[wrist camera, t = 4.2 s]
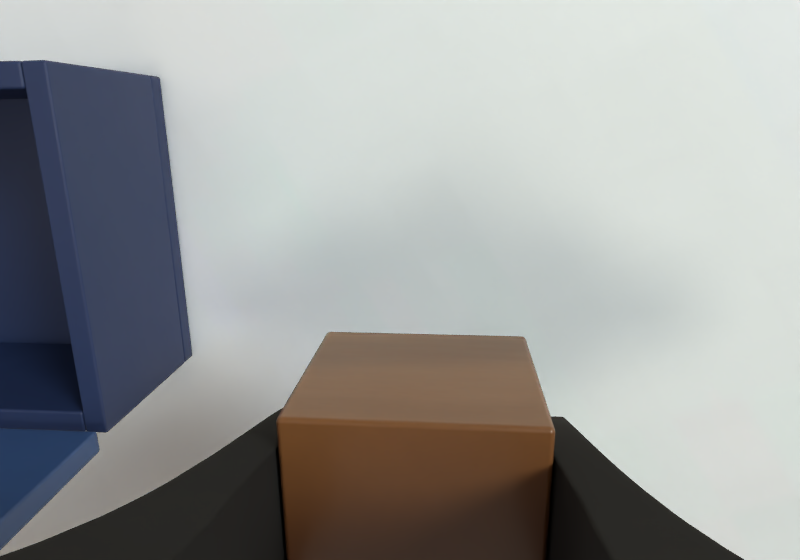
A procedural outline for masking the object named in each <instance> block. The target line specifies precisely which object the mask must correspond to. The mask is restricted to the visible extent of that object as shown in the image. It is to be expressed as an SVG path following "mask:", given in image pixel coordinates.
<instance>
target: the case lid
mask: <svg viewBox="0 0 800 560" xmlns="http://www.w3.org/2000/svg"><path fill="white" fill-rule="evenodd" d="M98 452H99V444H98V439H97V434H96V432H89V431H62V430H35V429H8V428H0V550H1V549H2V548H3V547H4V546H5V545H6V544H7V543H8V542H9V541H10V540H11V539H12V538H13V537H14V536H15V535H16V534H17V533H18V532H19V531H20V530H21V529H22V528H23V527H24V526H25V525H26V524H27V523H28V522H29V521H30V520H31V519H32V518H33V517H34V516H35V515H36V514H37V513H38V512H39V511H40V510H41V509H42V508H43V507H44V506H45V505H46V504H47V503H48V502H49V501H50V500H51V499H52V498H53V497H54V496H55V495H56V494H57V493H58V492H59V491H60V490H61V489H62V488H63V487H64V486H65V485H66V484H67V483H68V482H69V481H70V480H71V479H72V478H73V477H74V476H75V475H76V474H77V473H78V472H79V471H80V470H81V469H82V468H83V467H84V466H85V465H86V464H87V463H88V462H89V461H90V460H91V459H92V458H93V457H94V456H95V455H96V454H97V453H98Z"/></svg>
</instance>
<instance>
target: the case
mask: <svg viewBox="0 0 800 560" xmlns="http://www.w3.org/2000/svg"><path fill="white" fill-rule="evenodd" d="M191 356H192V350H191V341H190V333H189V324H188V316H187V307H186V299H185V290H184V282H183V273H182V265H181V256H180V248H179V239H178V231H177V222H176V214H175V205H174V197H173V188H172V179H171V171H170V162H169V154H168V145H167V137H166V128H165V120H164V111H163V103H162V94H161V86H160V79H159V77H155V76H148V75H142V74H135V73H128V72H121V71H114V70H107V69H101V68H94V67H87V66H80V65H73V64H66V63H59V62H52V61H45V60H37V61H0V428H8V429H35V430H62V431H89V432H108V431H109V430H110V429H111V428H112V427H114V426H115V425H116V424H117V423H118V422H119V421H120V420H121V419H122V418H123V417H125V416H126V415H127V414H128V413H129V412H130V411H131V410H132V409H133V408H135V407H136V406H137V405H138V404H139V403H140V402H141V401H142V400H143V399H145V398H146V397H147V396H148V395H149V394H150V393H151V392H152V391H153V390H154V389H156V388H157V387H158V386H159V385H160V384H161V383H162V382H163V381H164V380H166V379H167V378H168V377H169V376H170V375H171V374H172V373H173V372H174V371H175V370H177V369H178V368H179V367H180V366H181V365H182V364H183V363H184V362H185V361H186V360H187V359H189V358H190V357H191Z"/></svg>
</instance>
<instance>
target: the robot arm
mask: <svg viewBox="0 0 800 560" xmlns="http://www.w3.org/2000/svg"><path fill="white" fill-rule="evenodd" d="M282 409H283V408H282ZM282 409H280V410H279V411H277V412H275V413H274V414H272V415H271V416H269V417H268V418H266V419H265V420H263V421H262V422H260V423H259V424H257V425H256V426H255V427H253V428H252V429H250V430H249V431H247V432H246V433H244V434H243V435H242V436H240V437H239V438H237V439H236V440H234V441H233V442H231V443H230V444H228V445H227V446H225V447H224V448H222V449H221V450H219V451H218V452H216V453H215V454H213V455H212V456H210V457H209V458H207V459H205V460H204V461H202V462H200V463H199V464H197V465H195V466H194V467H192V468H191V469H189V470H187V471H186V472H184V473H182V474H181V475H179V476H178V477H176V478H174V479H173V480H171V481H169V482H168V483H166V484H164V485H162V486H161V487H159V488H157V489H155V490H153V491H151V492H149V493H148V494H146V495H144V496H142V497H140V498H138V499H136V500H134V501H132V502H130V503H128V504H126V505H124V506H122V507H120V508H118V509H116V510H114V511H112V512H110V513H107V514H105V515H103V516H101V517H99V518H96V519H94V520H91V521H89V522H87V523H84V524H82V525H80V526H77V527H75V528H72V529H70V530H68V531H65V532H63V533H60V534H58V535H56V536H53V537H51V538H48V539H46V540H44V541H41V542H39V543H36V544H33V545H31V546H28V547H25V548H22V549H20V550H17V551H14V552H11V553H8V554H6V555H3V556H0V560H287V558H286V544H285V531H284V518H283V504H282V491H281V478H280V464H279V451H278V438H277V424H276V420H277V418H278V416H279V414H280V413H281V411H282ZM551 419H552V423H553V426H554V429H555V445H554V459H553V473H552V487H551V501H550V515H549V529H548V543H547V557H546V560H744V559H742V558H741V557H739V556H737V555H736V554H734V553H732V552H731V551H729V550H727V549H726V548H724V547H723V546H721V545H720V544H718V543H717V542H715V541H714V540H712V539H711V538H709V537H708V536H706V535H705V534H703V533H702V532H700V531H699V530H697V529H696V528H694V527H693V526H691V525H690V524H688V523H687V522H685V521H684V520H683V519H681V518H680V517H678V516H677V515H676V514H674V513H673V512H671V511H670V510H669V509H668V508H666V507H665V506H664V505H662V504H661V503H660V502H659V501H657V500H656V499H655V498H653V497H652V496H651V495H650V494H648V493H647V492H646V491H644V490H643V489H642V488H641V487H640V486H638V485H637V484H636V483H635V482H634V481H632V480H631V479H630V478H629V477H628V476H627V475H625V474H624V473H623V472H622V471H621V470H620V469H619V468H617V467H616V466H615V465H614V464H613V463H612V462H611V461H610V460H608V459H607V458H606V457H605V456H604V455H603V454H602V453H601V452H600V451H599V450H598V449H597V448H596V447H594V446H593V445H592V444H591V443H590V442H589V441H588V440H587V439H586V438H585V437H584V436H583V435H582V434H581V433H580V432H579V431H578V430H577V429H576V428H575V427H574V426H572V425H571V424H570V423H569V422H568V421H567V420H566V419H565V418H564V417H551Z"/></svg>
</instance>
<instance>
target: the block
mask: <svg viewBox="0 0 800 560" xmlns="http://www.w3.org/2000/svg"><path fill="white" fill-rule="evenodd" d="M276 424H277V438H278V451H279V464H280V478H281V491H282V504H283V518H284V531H285V544H286V558H287V560H546V557H547V543H548V529H549V515H550V501H551V487H552V473H553V459H554V445H555V429H554V426H553V423H552V419H551V416H550V413H549V410H548V407H547V404H546V401H545V398H544V395H543V392H542V389H541V386H540V383H539V379H538V376H537V373H536V370H535V367H534V364H533V361H532V358H531V355H530V352H529V349H528V346H527V342H526V340H525V338H524V337H519V336H477V335H435V334H393V333H351V332H329V333H327V334H326V336H325V338H324V339H323V341H322V343H321V345H320V346H319V348H318V350H317V351H316V353H315V355H314V356H313V358H312V360H311V362H310V363H309V365H308V367H307V368H306V370H305V372H304V373H303V375H302V377H301V379H300V380H299V382H298V384H297V385H296V387H295V389H294V390H293V392H292V394H291V396H290V397H289V399H288V401H287V402H286V404H285V406H284V407H283V409H282V411H281V413H280V414H279V416H278V418H277V420H276Z"/></svg>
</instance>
